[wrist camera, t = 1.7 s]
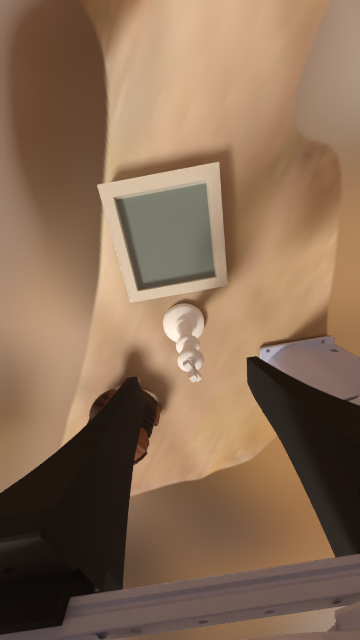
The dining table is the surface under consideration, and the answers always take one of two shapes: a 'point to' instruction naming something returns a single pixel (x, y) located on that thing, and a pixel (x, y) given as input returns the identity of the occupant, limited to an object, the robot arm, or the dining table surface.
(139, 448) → the pottery mug
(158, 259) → the picture frame
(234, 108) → the dining table surface
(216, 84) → the dining table surface
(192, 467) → the dining table surface
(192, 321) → the chess piece
